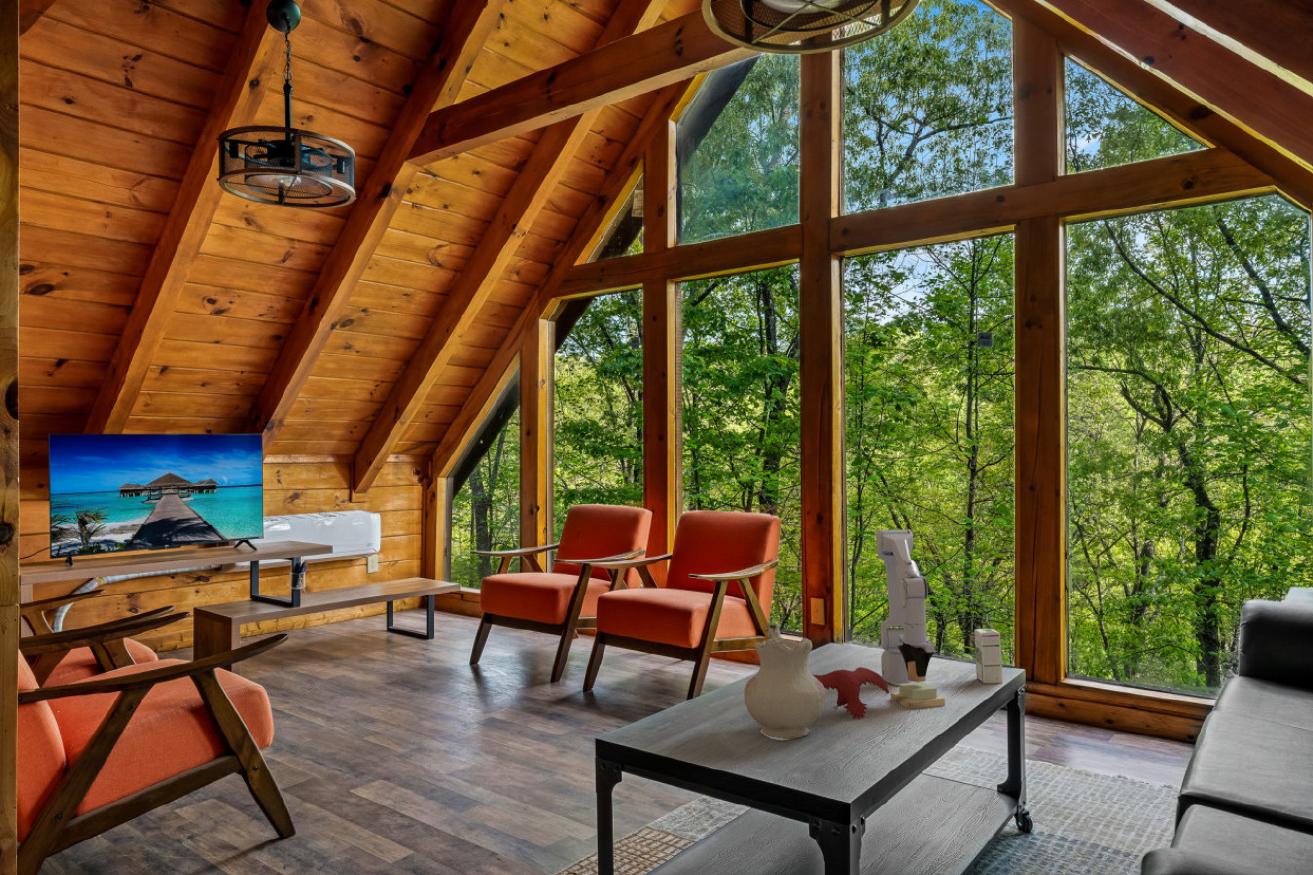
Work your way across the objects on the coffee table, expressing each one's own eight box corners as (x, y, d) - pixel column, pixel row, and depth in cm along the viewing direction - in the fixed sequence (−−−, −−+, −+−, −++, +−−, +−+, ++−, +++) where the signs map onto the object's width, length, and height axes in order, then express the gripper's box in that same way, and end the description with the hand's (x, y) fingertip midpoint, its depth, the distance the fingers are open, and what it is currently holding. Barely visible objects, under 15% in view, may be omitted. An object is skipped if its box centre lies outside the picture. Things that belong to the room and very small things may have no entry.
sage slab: (899, 693, 232) (898, 684, 232) (922, 691, 233) (922, 682, 233) (912, 700, 225) (912, 690, 225) (936, 697, 226) (936, 688, 226)
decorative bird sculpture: (896, 724, 225) (872, 673, 235) (912, 706, 219) (886, 655, 229) (801, 738, 215) (780, 684, 225) (814, 720, 209) (792, 666, 219)
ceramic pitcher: (731, 727, 216) (721, 628, 215) (799, 711, 222) (790, 615, 222) (770, 754, 195) (759, 645, 195) (844, 736, 202) (834, 630, 202)
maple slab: (890, 701, 233) (890, 692, 233) (923, 698, 235) (923, 688, 236) (911, 711, 223) (910, 702, 223) (944, 707, 226) (944, 698, 226)
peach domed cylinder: (905, 678, 231) (904, 661, 231) (919, 676, 232) (918, 660, 232) (914, 682, 227) (913, 665, 227) (928, 680, 228) (928, 663, 228)
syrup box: (1003, 683, 246) (1001, 632, 247) (982, 683, 246) (980, 632, 247) (995, 678, 252) (993, 628, 252) (975, 678, 252) (973, 628, 252)
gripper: (943, 626, 224) (945, 679, 224) (913, 617, 238) (914, 666, 238) (919, 628, 222) (921, 681, 222) (890, 619, 236) (892, 669, 236)
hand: (916, 674), depth 229 cm, fingers closed on peach domed cylinder, 4 cm apart
